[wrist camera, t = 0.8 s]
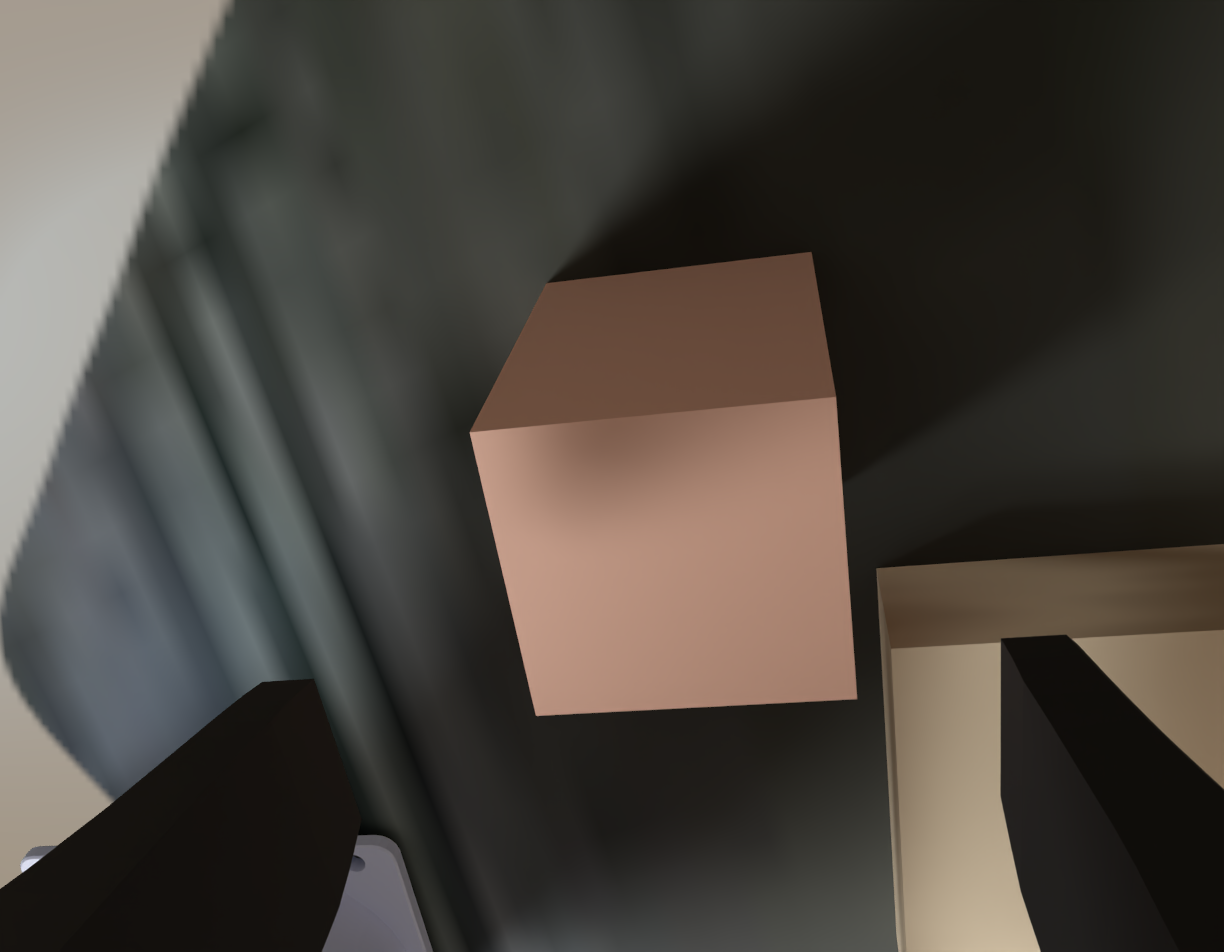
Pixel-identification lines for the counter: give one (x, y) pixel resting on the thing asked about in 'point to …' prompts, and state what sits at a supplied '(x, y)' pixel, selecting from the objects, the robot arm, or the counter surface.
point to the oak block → (971, 708)
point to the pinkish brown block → (672, 491)
